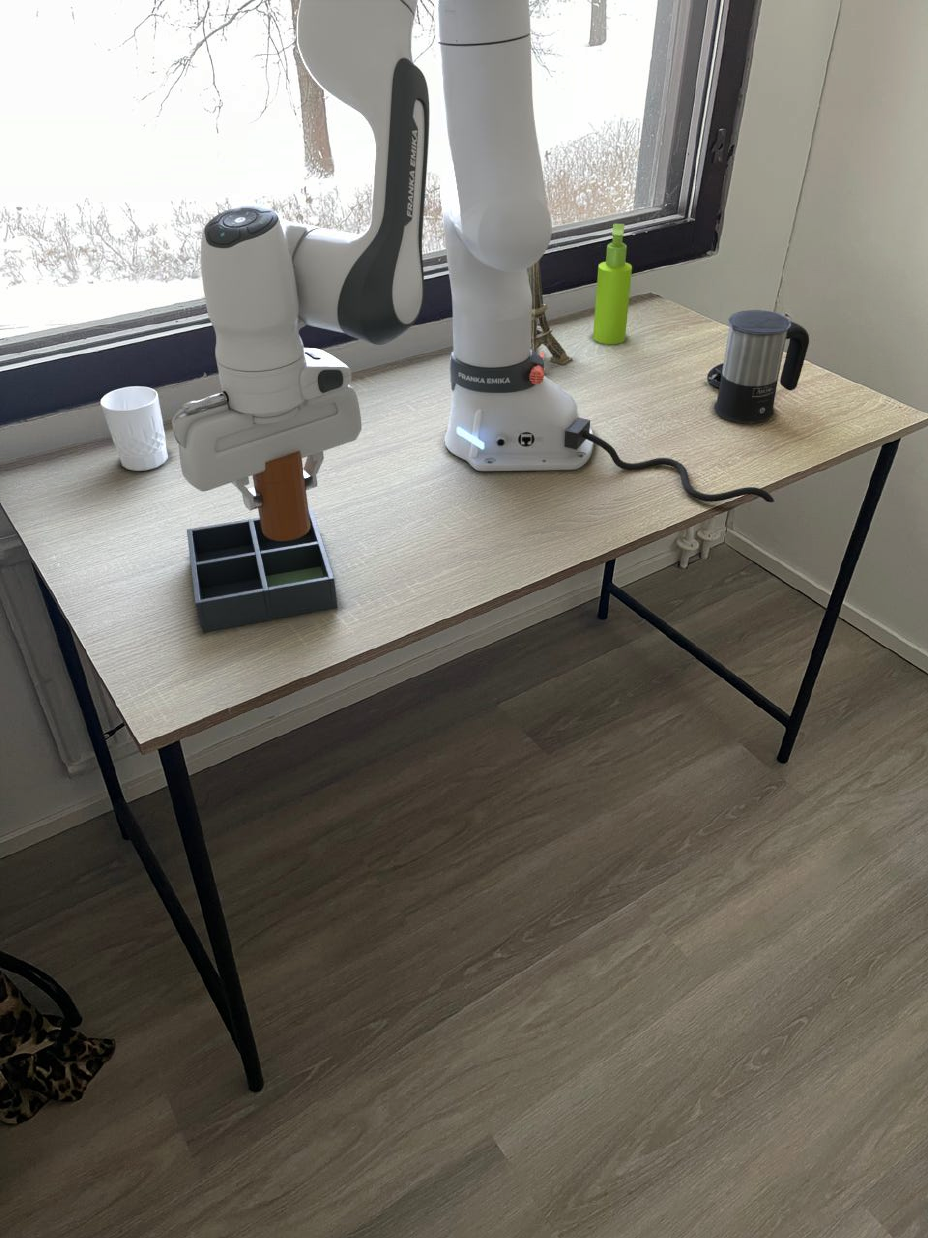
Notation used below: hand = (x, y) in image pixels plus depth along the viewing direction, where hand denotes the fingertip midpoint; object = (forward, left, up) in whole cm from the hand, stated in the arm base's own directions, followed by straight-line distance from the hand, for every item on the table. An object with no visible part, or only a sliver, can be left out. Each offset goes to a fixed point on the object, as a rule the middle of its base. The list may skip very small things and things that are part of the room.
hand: (281, 496), depth 105 cm
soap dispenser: (-32, -84, -14) cm, 91 cm away
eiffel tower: (-19, -72, -14) cm, 75 cm away
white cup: (+33, -28, -14) cm, 45 cm away
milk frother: (-54, -62, -14) cm, 83 cm away
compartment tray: (+5, -2, -14) cm, 15 cm away
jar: (0, 0, -4) cm, 4 cm away
